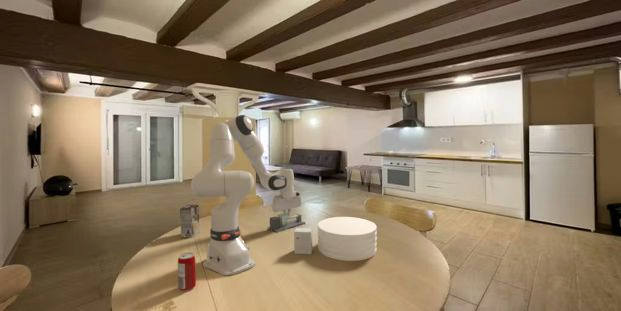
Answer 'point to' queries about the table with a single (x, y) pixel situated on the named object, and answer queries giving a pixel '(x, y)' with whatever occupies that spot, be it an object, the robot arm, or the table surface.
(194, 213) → the coffee box
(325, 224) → the plate stack
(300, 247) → the small box
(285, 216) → the sleeve
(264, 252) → the table surface
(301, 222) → the slider rail mechanism
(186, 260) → the soda can
